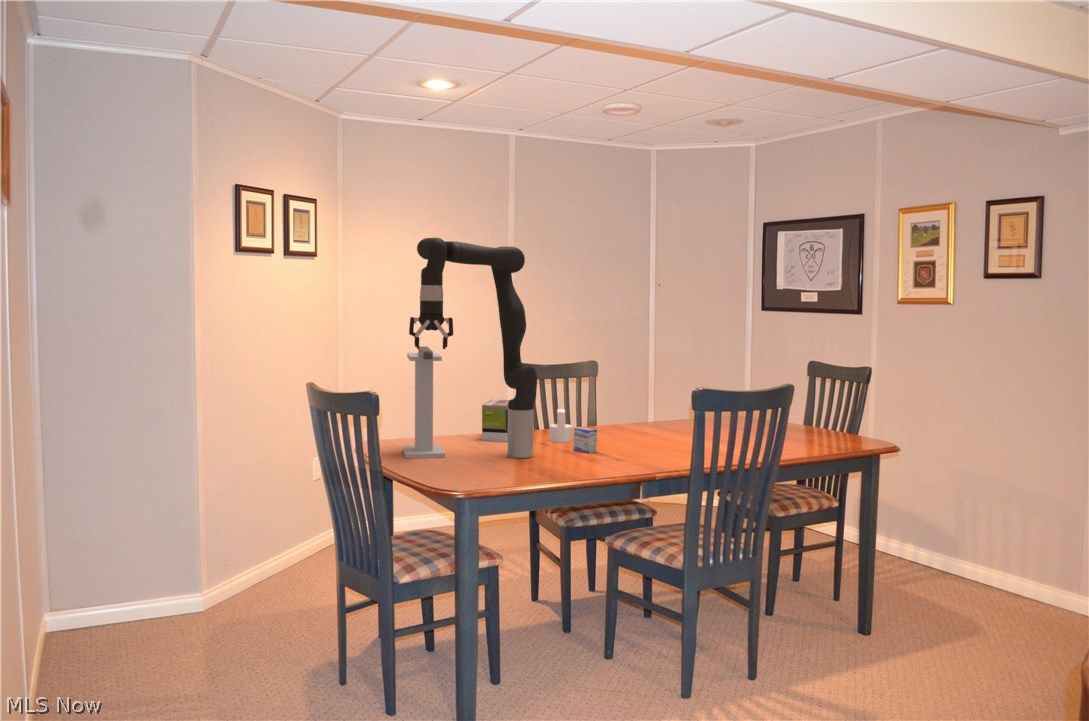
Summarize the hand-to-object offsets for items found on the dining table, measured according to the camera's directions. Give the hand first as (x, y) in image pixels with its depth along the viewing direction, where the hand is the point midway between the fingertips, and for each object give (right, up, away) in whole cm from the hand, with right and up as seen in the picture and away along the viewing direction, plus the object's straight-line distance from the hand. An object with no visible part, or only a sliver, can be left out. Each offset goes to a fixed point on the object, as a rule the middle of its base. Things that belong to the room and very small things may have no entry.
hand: (431, 348), depth 285 cm
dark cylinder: (-5, -2, +21) cm, 22 cm away
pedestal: (-7, -38, +30) cm, 48 cm away
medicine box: (+52, -38, +39) cm, 76 cm away
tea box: (+19, -35, +63) cm, 74 cm away
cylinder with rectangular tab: (+44, -36, +60) cm, 82 cm away
